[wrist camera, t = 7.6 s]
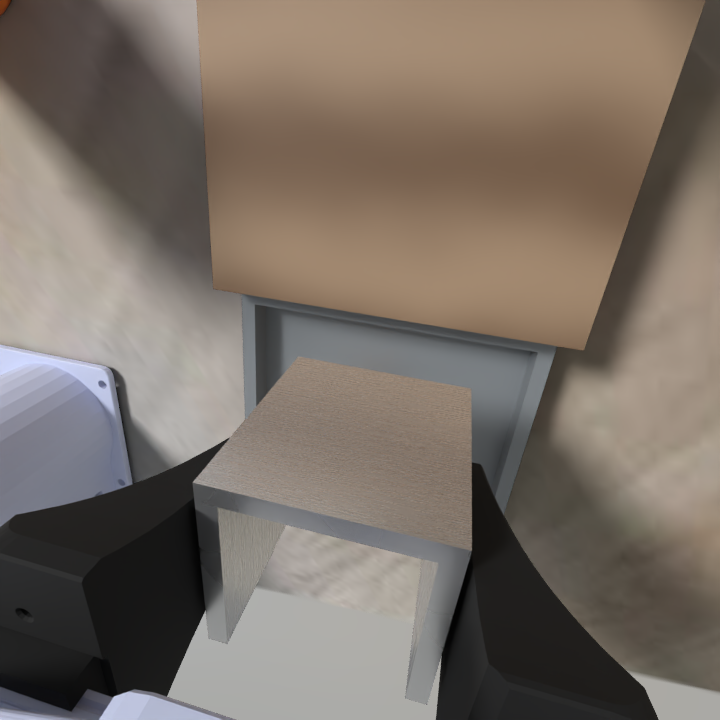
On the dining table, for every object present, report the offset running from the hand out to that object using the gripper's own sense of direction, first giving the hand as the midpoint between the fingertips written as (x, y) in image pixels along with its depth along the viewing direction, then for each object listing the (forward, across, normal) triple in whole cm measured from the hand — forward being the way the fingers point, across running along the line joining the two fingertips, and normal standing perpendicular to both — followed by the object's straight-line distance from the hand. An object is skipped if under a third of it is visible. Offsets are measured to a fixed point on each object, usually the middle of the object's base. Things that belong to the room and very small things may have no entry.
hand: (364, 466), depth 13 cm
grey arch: (+1, 0, 0) cm, 1 cm away
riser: (+8, 0, -8) cm, 11 cm away
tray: (+8, 0, +3) cm, 8 cm away
